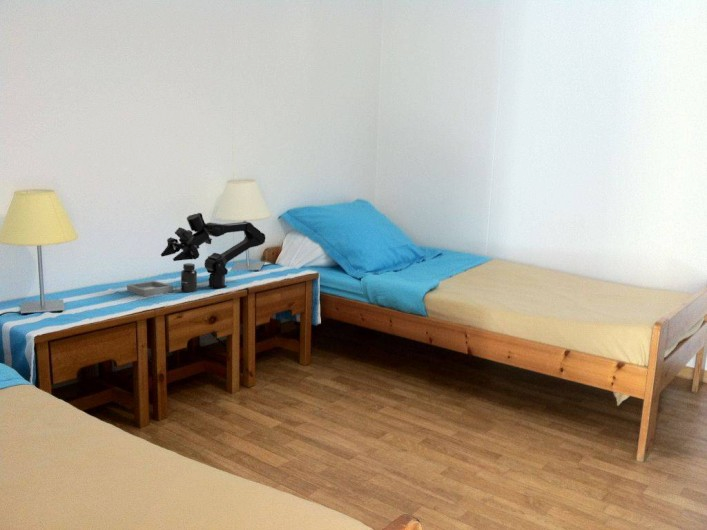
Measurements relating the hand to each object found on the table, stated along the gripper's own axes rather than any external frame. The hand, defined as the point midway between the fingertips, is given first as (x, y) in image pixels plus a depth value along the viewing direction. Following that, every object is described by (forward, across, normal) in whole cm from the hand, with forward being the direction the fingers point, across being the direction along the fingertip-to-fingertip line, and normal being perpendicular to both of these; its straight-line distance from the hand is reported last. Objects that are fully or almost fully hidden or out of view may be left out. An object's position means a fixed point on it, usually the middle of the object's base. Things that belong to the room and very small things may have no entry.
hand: (167, 257), depth 290 cm
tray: (+9, -10, +14) cm, 19 cm away
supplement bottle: (-4, 0, +20) cm, 20 cm away
